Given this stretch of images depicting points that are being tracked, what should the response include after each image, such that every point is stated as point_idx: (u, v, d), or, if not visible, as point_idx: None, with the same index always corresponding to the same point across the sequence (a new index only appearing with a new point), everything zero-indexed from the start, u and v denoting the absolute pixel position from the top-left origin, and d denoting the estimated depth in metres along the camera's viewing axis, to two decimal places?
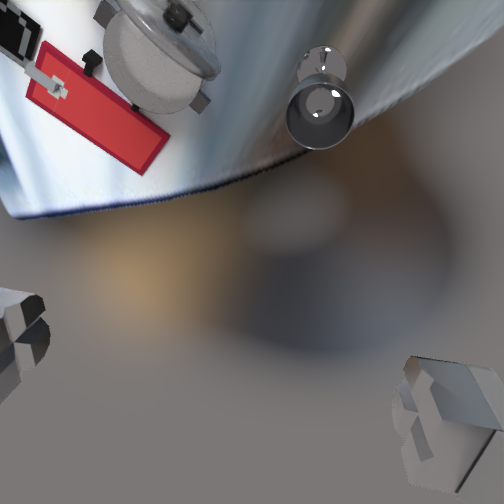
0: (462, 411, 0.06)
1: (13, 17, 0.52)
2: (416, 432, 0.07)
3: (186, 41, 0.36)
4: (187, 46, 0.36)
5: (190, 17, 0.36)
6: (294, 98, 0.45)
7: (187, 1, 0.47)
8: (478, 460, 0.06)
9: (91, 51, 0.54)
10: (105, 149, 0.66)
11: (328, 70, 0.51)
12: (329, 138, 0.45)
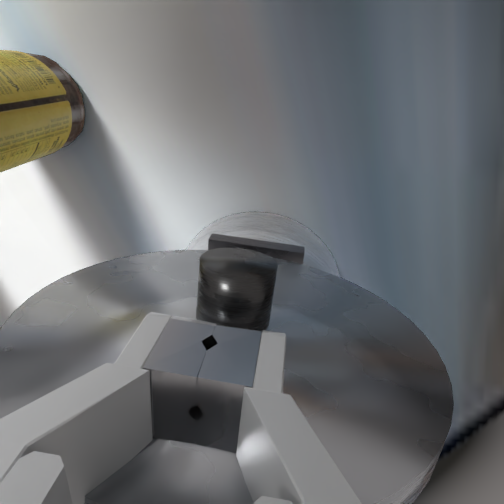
0: (224, 370, 0.06)
1: None
2: None
3: (296, 351, 0.10)
4: (312, 381, 0.09)
5: (271, 278, 0.10)
6: None
7: (246, 216, 0.25)
8: (241, 417, 0.06)
9: None
10: None
11: None
12: None
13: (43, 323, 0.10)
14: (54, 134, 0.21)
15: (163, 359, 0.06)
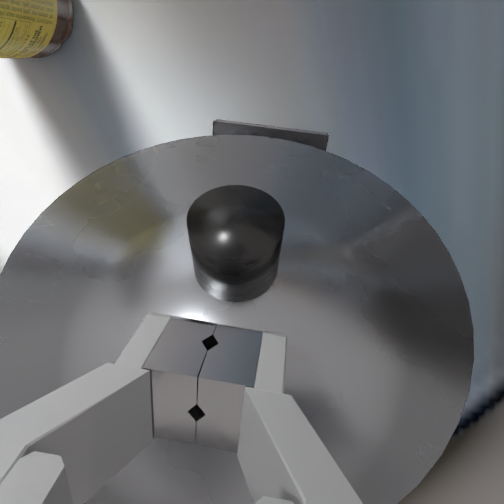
0: (225, 370, 0.06)
1: None
2: None
3: (305, 317, 0.09)
4: (318, 365, 0.09)
5: (276, 245, 0.08)
6: None
7: None
8: (242, 416, 0.06)
9: None
10: None
11: None
12: None
13: (31, 296, 0.09)
14: (35, 19, 0.19)
15: (163, 360, 0.06)
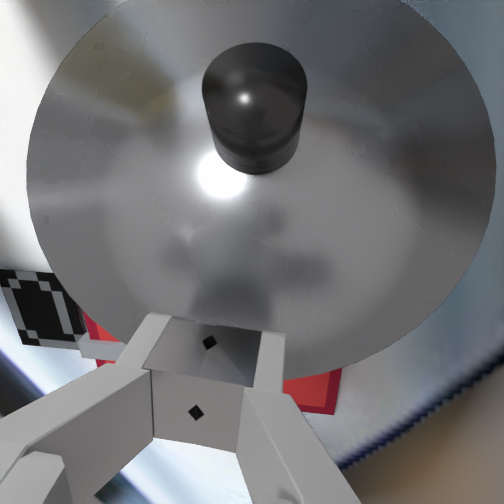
0: (224, 370, 0.06)
1: (32, 288, 0.31)
2: None
3: (325, 188, 0.10)
4: (336, 233, 0.09)
5: (297, 115, 0.08)
6: None
7: None
8: (241, 416, 0.06)
9: None
10: None
11: None
12: None
13: (61, 177, 0.10)
14: None
15: (163, 360, 0.06)
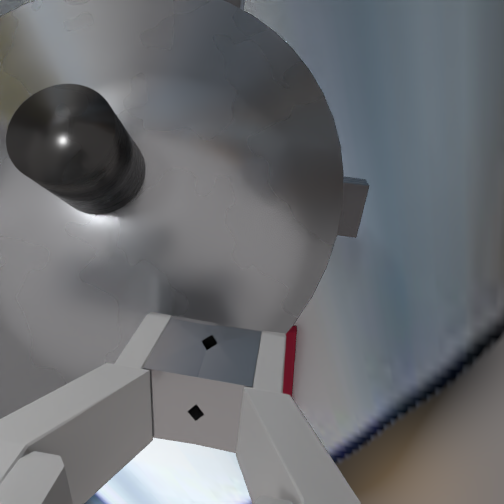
0: (224, 370, 0.06)
1: None
2: None
3: (165, 229, 0.09)
4: (170, 277, 0.09)
5: (105, 163, 0.08)
6: None
7: None
8: (241, 416, 0.06)
9: None
10: None
11: None
12: None
13: None
14: None
15: (163, 360, 0.06)
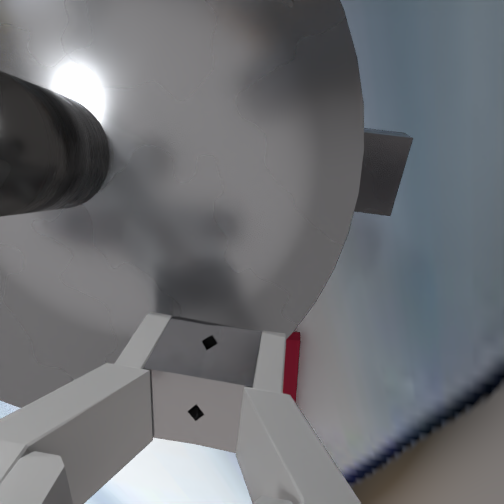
0: (224, 370, 0.06)
1: None
2: None
3: (145, 226, 0.08)
4: (158, 281, 0.08)
5: (48, 183, 0.06)
6: None
7: None
8: (241, 416, 0.06)
9: None
10: None
11: None
12: None
13: None
14: None
15: (163, 359, 0.06)
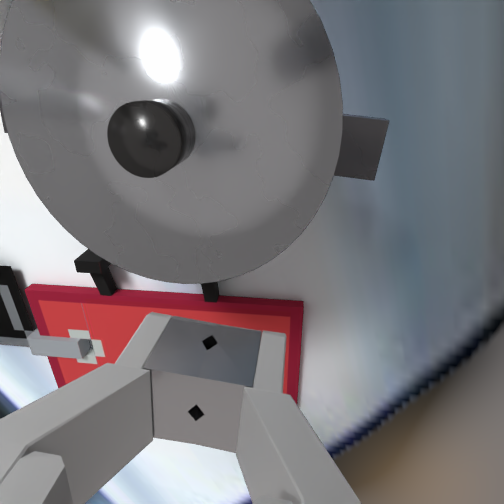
0: (224, 370, 0.06)
1: None
2: None
3: (217, 175, 0.14)
4: (225, 206, 0.14)
5: (176, 160, 0.12)
6: None
7: None
8: (241, 416, 0.06)
9: None
10: None
11: None
12: None
13: (44, 169, 0.15)
14: None
15: (163, 360, 0.06)
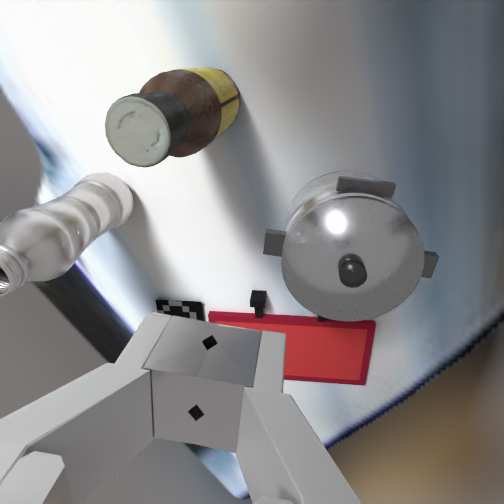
0: (224, 370, 0.06)
1: (177, 310, 0.50)
2: None
3: (369, 280, 0.34)
4: (370, 291, 0.34)
5: None
6: None
7: (340, 173, 0.39)
8: (241, 417, 0.06)
9: (253, 292, 0.47)
10: (311, 379, 0.53)
11: None
12: None
13: (293, 275, 0.35)
14: (233, 118, 0.35)
15: (163, 360, 0.06)
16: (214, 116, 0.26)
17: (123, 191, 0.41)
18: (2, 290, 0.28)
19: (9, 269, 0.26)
